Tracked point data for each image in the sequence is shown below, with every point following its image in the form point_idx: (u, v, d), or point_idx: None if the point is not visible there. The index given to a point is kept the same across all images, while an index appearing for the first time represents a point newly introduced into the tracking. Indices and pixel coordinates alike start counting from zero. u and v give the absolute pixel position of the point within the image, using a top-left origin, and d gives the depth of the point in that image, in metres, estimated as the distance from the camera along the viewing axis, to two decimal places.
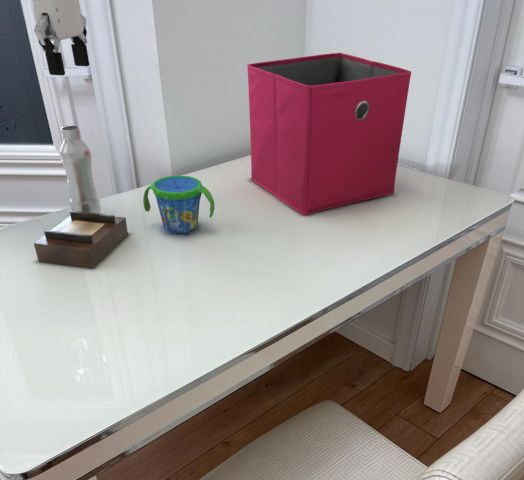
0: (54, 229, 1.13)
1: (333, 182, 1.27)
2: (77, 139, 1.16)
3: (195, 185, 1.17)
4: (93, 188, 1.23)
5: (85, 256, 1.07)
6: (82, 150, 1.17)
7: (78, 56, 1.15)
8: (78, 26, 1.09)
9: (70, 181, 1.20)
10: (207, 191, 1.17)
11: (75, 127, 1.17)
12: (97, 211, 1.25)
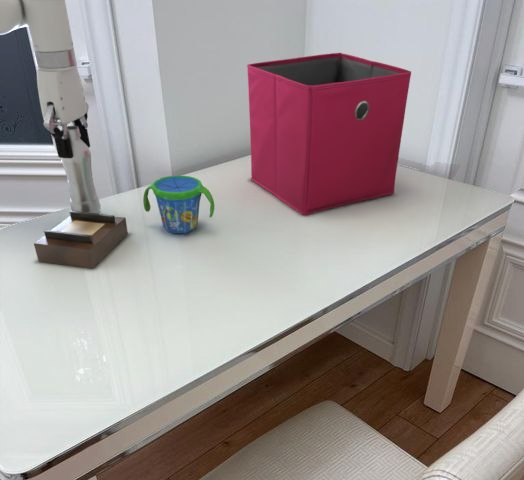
0: (54, 229, 1.13)
1: (333, 182, 1.27)
2: (77, 139, 1.16)
3: (195, 185, 1.17)
4: (93, 188, 1.23)
5: (85, 256, 1.07)
6: (82, 150, 1.17)
7: None
8: (82, 109, 1.15)
9: (70, 181, 1.20)
10: (207, 191, 1.17)
11: (75, 127, 1.17)
12: (97, 211, 1.25)
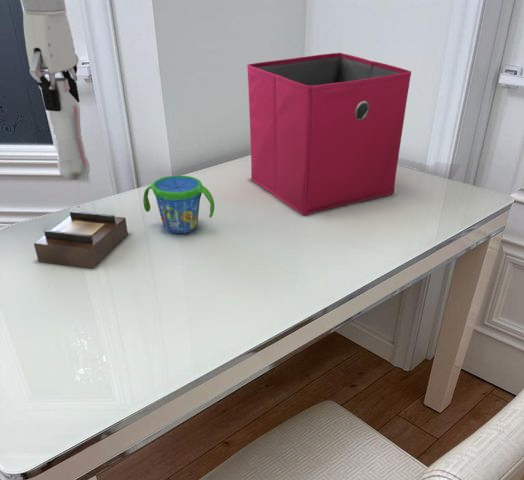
0: (54, 229, 1.13)
1: (333, 182, 1.27)
2: (65, 92, 1.10)
3: (195, 185, 1.17)
4: (82, 146, 1.17)
5: (85, 256, 1.07)
6: (70, 104, 1.11)
7: None
8: (71, 60, 1.09)
9: (57, 137, 1.14)
10: (207, 191, 1.17)
11: (63, 79, 1.11)
12: (86, 171, 1.20)
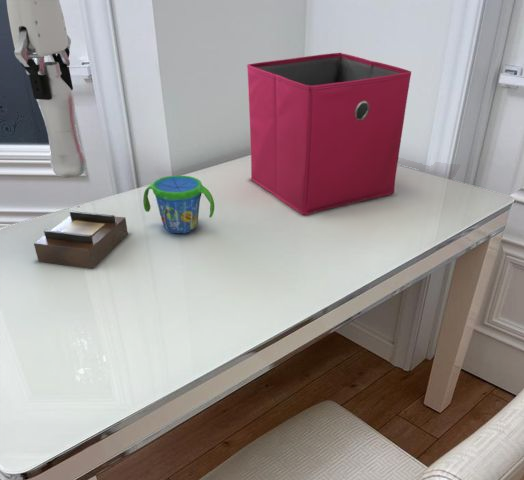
0: (54, 229, 1.13)
1: (333, 182, 1.27)
2: (57, 77, 0.97)
3: (195, 185, 1.17)
4: (77, 139, 1.04)
5: (85, 256, 1.07)
6: (63, 91, 0.98)
7: None
8: (62, 41, 0.96)
9: (49, 130, 1.01)
10: (207, 191, 1.17)
11: (54, 64, 0.98)
12: (82, 167, 1.07)
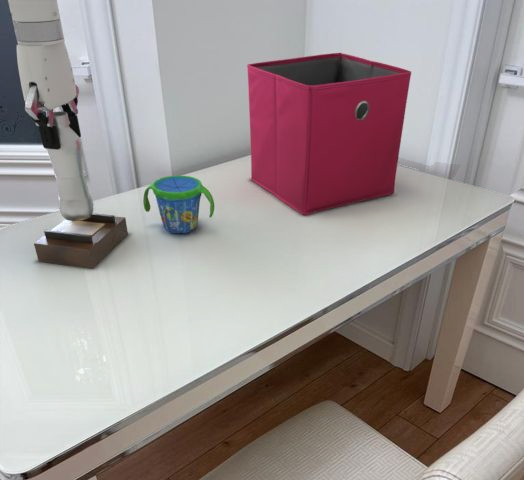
0: (54, 229, 1.13)
1: (333, 182, 1.27)
2: (65, 127, 1.00)
3: (195, 185, 1.17)
4: (84, 184, 1.07)
5: (85, 256, 1.07)
6: (71, 140, 1.01)
7: None
8: (71, 92, 0.99)
9: (58, 176, 1.04)
10: (207, 191, 1.17)
11: (63, 113, 1.01)
12: (89, 211, 1.09)
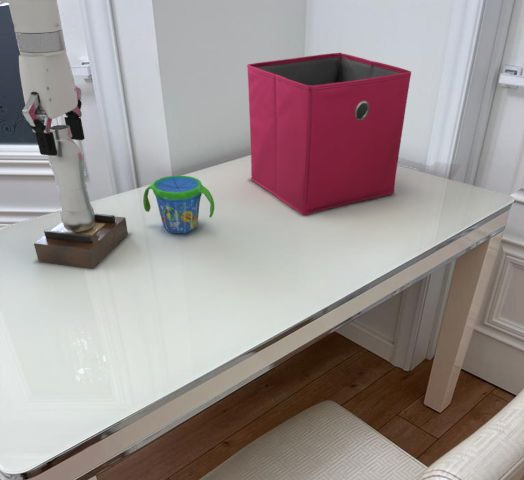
0: (54, 229, 1.13)
1: (333, 182, 1.27)
2: (68, 140, 1.01)
3: (195, 185, 1.17)
4: (86, 196, 1.08)
5: (85, 256, 1.07)
6: (73, 153, 1.02)
7: (72, 130, 1.05)
8: (72, 101, 1.00)
9: (60, 188, 1.05)
10: (207, 191, 1.17)
11: (65, 126, 1.02)
12: (91, 222, 1.11)
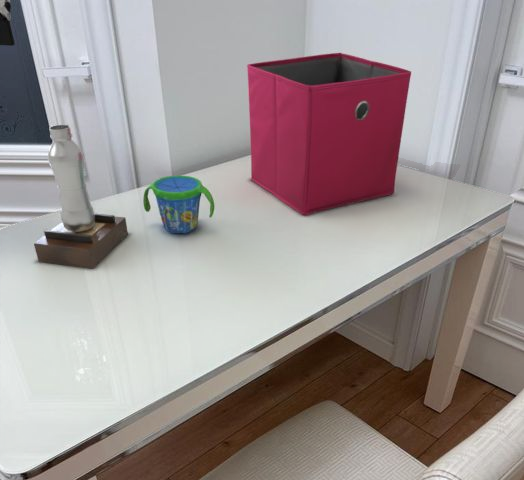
0: (54, 229, 1.13)
1: (333, 182, 1.27)
2: (68, 140, 1.01)
3: (195, 185, 1.17)
4: (86, 196, 1.08)
5: (85, 256, 1.07)
6: (73, 153, 1.02)
7: (1, 34, 1.01)
8: None
9: (60, 188, 1.05)
10: (207, 191, 1.17)
11: (65, 126, 1.02)
12: (91, 222, 1.11)
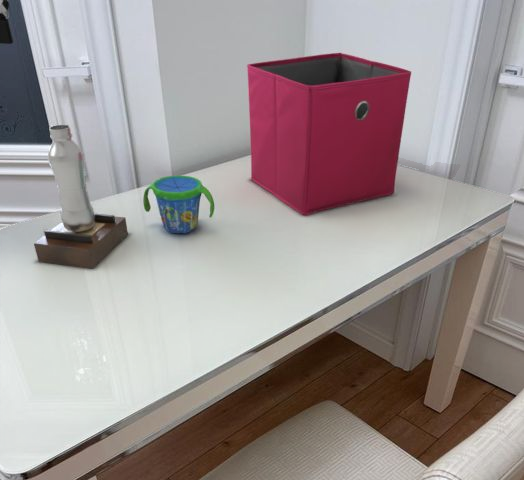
0: (54, 229, 1.13)
1: (333, 182, 1.27)
2: (68, 140, 1.01)
3: (195, 185, 1.17)
4: (86, 196, 1.08)
5: (85, 256, 1.07)
6: (73, 153, 1.02)
7: None
8: None
9: (60, 188, 1.05)
10: (207, 191, 1.17)
11: (65, 126, 1.02)
12: (91, 222, 1.11)
